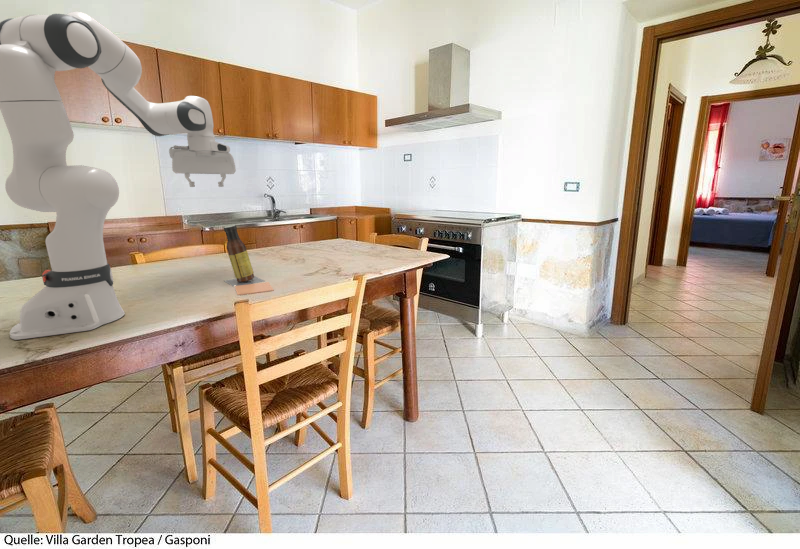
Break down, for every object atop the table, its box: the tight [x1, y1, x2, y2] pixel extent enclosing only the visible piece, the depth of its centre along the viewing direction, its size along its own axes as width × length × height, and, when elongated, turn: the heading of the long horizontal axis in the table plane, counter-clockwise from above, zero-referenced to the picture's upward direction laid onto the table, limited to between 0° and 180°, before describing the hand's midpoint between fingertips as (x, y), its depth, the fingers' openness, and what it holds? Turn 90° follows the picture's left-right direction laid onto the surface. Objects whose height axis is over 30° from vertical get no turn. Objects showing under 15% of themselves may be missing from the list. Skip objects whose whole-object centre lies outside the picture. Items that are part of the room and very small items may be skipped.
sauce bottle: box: [223, 224, 255, 282], centre depth 136 cm, size 6×6×20 cm
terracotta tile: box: [234, 281, 275, 296], centre depth 129 cm, size 11×11×1 cm
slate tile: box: [223, 275, 265, 287], centre depth 140 cm, size 11×11×1 cm
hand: (207, 186), depth 140 cm, fingers open, 8 cm apart
